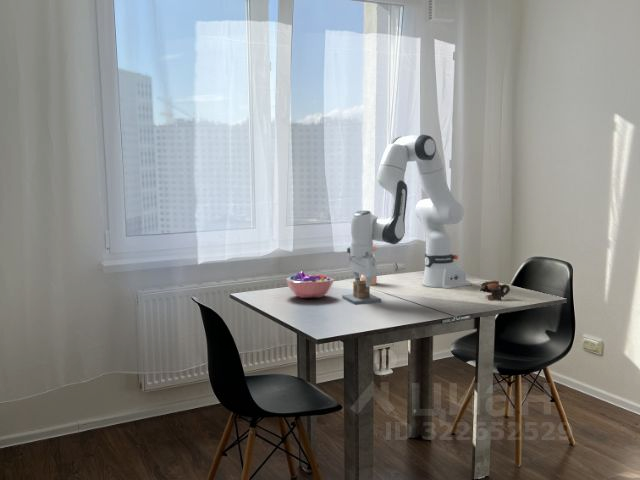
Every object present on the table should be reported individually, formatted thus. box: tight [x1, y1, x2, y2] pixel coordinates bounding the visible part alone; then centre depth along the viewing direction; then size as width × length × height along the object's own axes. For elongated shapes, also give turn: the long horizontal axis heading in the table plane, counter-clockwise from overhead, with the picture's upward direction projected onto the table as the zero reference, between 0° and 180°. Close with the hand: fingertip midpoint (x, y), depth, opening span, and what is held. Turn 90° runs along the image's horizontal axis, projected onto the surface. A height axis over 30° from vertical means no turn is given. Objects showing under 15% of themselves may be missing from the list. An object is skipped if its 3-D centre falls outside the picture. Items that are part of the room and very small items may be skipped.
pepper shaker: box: [360, 244, 378, 286], centre depth 294 cm, size 7×7×19 cm
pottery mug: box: [479, 280, 511, 301], centre depth 266 cm, size 12×10×8 cm
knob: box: [352, 280, 371, 299], centre depth 263 cm, size 5×5×7 cm
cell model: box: [285, 270, 335, 299], centre depth 267 cm, size 17×20×11 cm
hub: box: [341, 293, 382, 305], centre depth 263 cm, size 12×12×6 cm
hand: (362, 284), depth 263 cm, fingers open, 8 cm apart
